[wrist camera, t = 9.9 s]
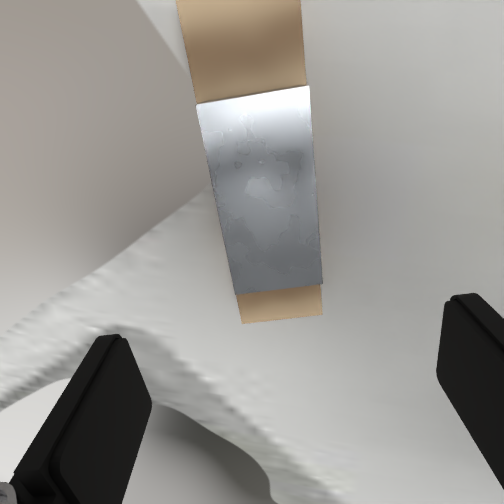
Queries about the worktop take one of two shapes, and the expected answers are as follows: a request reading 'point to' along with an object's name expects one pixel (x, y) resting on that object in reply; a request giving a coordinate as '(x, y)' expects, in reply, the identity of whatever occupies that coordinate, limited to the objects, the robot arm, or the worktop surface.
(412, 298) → the worktop surface
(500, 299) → the worktop surface
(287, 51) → the light brown long block
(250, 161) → the brushed steel slab
